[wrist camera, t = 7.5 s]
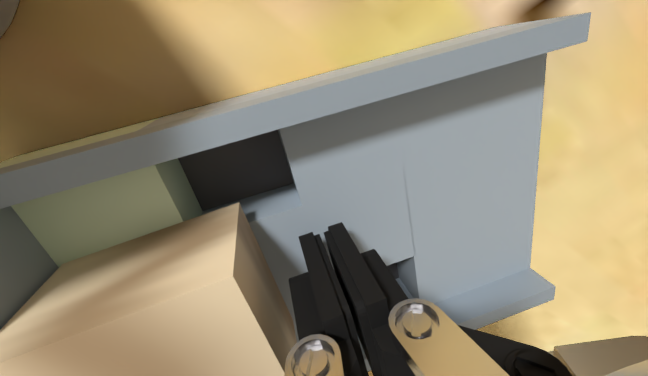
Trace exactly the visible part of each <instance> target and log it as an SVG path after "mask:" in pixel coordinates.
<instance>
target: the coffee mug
mask: <svg viewBox="0 0 648 376" xmlns="http://www.w3.org/2000/svg"><path fill="white" fill-rule="evenodd" d="M19 1H20V0H0V38H1V37H2V35H3V34H4V33H5V31H6V30H7V28H8V27H9V26H10V24H11V22H12V19H13V17H14V15H15V12H16V10H17V7H18V4H19Z"/></svg>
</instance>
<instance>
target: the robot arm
mask: <svg viewBox="0 0 648 376" xmlns="http://www.w3.org/2000/svg"><path fill="white" fill-rule="evenodd" d="M328 230H329V231H326V232H324V236H325V240H326V243H327V247H328V250H329V254H330V257H331V261H332V264H333V266H332V264H331V261H330V259H329V256H328V254H327V251H326V249H325V246H324V244H323V241H322V239H321V237H320V234H317V235H314V234H313V232H310V233H307V234H304V235H301V236H298V237H299V241H300V244H301V248H302V251H303V255H304V259H305V262H306V266H307V270H308V272H306V273H303V274H300V275H297V276H294V277H292V278H289V286H290V292H291V298H292V304H293V309H294V315H295V321H296V327H297V333H298V338H299V341H298V342H297V343H296V344H295V345H294V346H293V347H292V349H291V350H290V352H289V354H288V356H287V358H286V363H285V376H369V375H368V372H367V368H366V364H365V361H364V357H363V354H362V350H361V346H360V343H359V340H360V342H361V345H362V348H363V350H364V353H365V355H366V358H367V360H368V363H369V365H370V368H371V370H372V373H373V375H374V376H648V337H646V336H628V337H621V338H614V339H606V340H599V341H591V342H584V343H577V344H569V345H562V346H555V347H554V351H550V352H547V351H544V350H542V349H539V348H537V347H534V346H530V345H527V344H523V343H520V342H516V341H513V340H509V339H506V338H502V337H499V336H495V335H491V334H488V333H484V332H481V331H477V330H474V329H470V328H467V327H463V326H460V325H457V324H456V323H454V322H453V321H452V320H451V319H450V318H449V317H448V316H447V315H446V314H445V313H444V312H443V311H442V310H441V309H440V308H439V307H438V306H436V305H435V304H434V303H432V302H430V301H427V300H425V299H418V298H413V299H408V297H407V296H406V294H405V293H404V291H403V290H402V288H401V287H400V285H399V284H398V282H397V281H396V279H395V278H394V276H393V275H392V273H391V272H390V270H389V269H388V267H387V266H386V264H385V263H384V262H383V260H382V259H381V257H380V256H379V254H378V253H377V251H376V250H375V249H372V250H369V251H366V252H363V253H360V252H359V250H358V249H357V247H356V245H355V243H354V242H353V240H352V238H351V237H350V235H349V233H348V231H347V230H346V228H345V226H344V224H343V223H342V222H340V223H337V224H334V225H331V226H328ZM333 267H334V269H333ZM357 335H358V336H357ZM358 337H359V339H358Z"/></svg>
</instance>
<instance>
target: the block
mask: <svg viewBox="0 0 648 376" xmlns="http://www.w3.org/2000/svg"><path fill="white" fill-rule="evenodd" d="M296 343H297V341H296V335H295V329H294V323H293V319H292V317H291V314H290V312H289V310H288V308H287V306H286V304H285V301H284V299H283V297H282V295H281V293H280V290H279V288H278V286H277V284H276V282H275V279H274V277H273V275H272V273H271V271H270V268H269V266H268V264H267V262H266V260H265V258H264V255H263V253H262V251H261V249H260V247H259V244H258V242H257V240H256V238H255V236H254V233H253V231H252V229H251V227H250V225H249V222H248V220H247V218H246V216H245V214H244V211H243V209H242V207H241V205H240V203H239V202H238V203H235V204H232V205H230V206H227V207H224V208H221V209H218V210H215V211H212V212H210V213H207V214H204V215H201V216H198V217H195V218H192V219H190V220H187V221H184V222H181V223H178V224H175V225H172V226H170V227H167V228H164V229H161V230H158V231H155V232H152V233H149V234H147V235H144V236H141V237H138V238H135V239H132V240H129V241H127V242H124V243H121V244H118V245H115V246H112V247H109V248H107V249H104V250H101V251H98V252H95V253H92V254H89V255H87V256H84V257H81V258H78V259H75V260H72V261H69V262H67V263H64V264H62V265H61V266H60V267H59V268H58V269H57V270H56V271H55V272H54V273H53V274H52V276H51V277H50V278H49V279H48V280H47V281H46V282H45V283H44V284H43V285H42V286H41V287H40V288H39V289H38V290H37V291H36V292H35V294H34V295H33V296H32V297H31V298H30V299H29V300H28V301H27V302H26V303H25V304H24V305H23V306H22V307H21V308H20V309H19V310H18V312H17V313H16V314H15V315H14V316H13V317H12V318H11V319H10V320H9V321H8V322H7V323H6V324H5V325H4V326H3V327H2V329H1V330H0V376H285V363H286V358H287V356H288V354H289V352H290V350H291V349H292V347H293V346H294V345H295V344H296Z"/></svg>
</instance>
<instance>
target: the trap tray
mask: <svg viewBox="0 0 648 376" xmlns="http://www.w3.org/2000/svg"><path fill="white" fill-rule="evenodd" d="M590 16H591V13H584V14H577V15H571V16H564V17H558V18H551V19H545V20H538V21H531V22H525V23H518V24H512V25H505V26H499V27H494V28H490V29H486V30H483V31H479V32H475V33H472V34H468V35H464V36H460V37H457V38H453V39H449V40H446V41H442V42H438V43H434V44H431V45H427V46H423V47H420V48H416V49H412V50H409V51H405V52H401V53H397V54H394V55H390V56H386V57H383V58H379V59H375V60H371V61H368V62H364V63H360V64H357V65H353V66H349V67H345V68H342V69H338V70H334V71H331V72H327V73H323V74H319V75H316V76H312V77H308V78H305V79H301V80H297V81H293V82H290V83H286V84H282V85H279V86H275V87H271V88H268V89H264V90H260V91H256V92H253V93H249V94H245V95H242V96H238V97H234V98H230V99H227V100H223V101H219V102H216V103H212V104H208V105H204V106H201V107H197V108H193V109H190V110H186V111H182V112H178V113H175V114H171V115H167V116H164V117H160V118H156V119H152V120H149V121H145V122H141V123H138V124H134V125H130V126H127V127H123V128H119V129H115V130H112V131H108V132H104V133H101V134H97V135H93V136H89V137H86V138H82V139H78V140H75V141H71V142H67V143H63V144H60V145H56V146H52V147H49V148H45V149H41V150H37V151H34V152H30V153H26V154H23V155H19V156H16V157H13V158H11V159H8V160H6V161H3V162H1V163H0V330H1V329H2V327H3V326H4V325H5V324H6V323H7V322H8V321H9V320H10V319H11V318H12V317H13V316H14V315H15V314H16V313H17V312H18V310H19V309H20V308H21V307H22V306H23V305H24V304H25V303H26V302H27V301H28V300H29V299H30V298H31V297H32V296H33V295H34V294H35V292H36V291H37V290H38V289H39V288H40V287H41V286H42V285H43V284H44V283H45V282H46V281H47V280H48V279H49V278H50V277H51V276H52V274H53V273H54V272H55V271H56V270H57V269H58V268H59V267H60V266H61V265H62V264H64V263H67V262H69V261H72V260H75V259H78V258H81V257H84V256H87V255H89V254H92V253H95V252H98V251H101V250H104V249H107V248H109V247H112V246H115V245H118V244H121V243H124V242H127V241H129V240H132V239H135V238H138V237H141V236H144V235H147V234H149V233H152V232H155V231H158V230H161V229H164V228H167V227H170V226H172V225H175V224H178V223H181V222H184V221H187V220H190V219H192V218H195V217H198V216H201V215H204V214H207V213H210V212H212V211H215V210H218V209H221V208H224V207H227V206H230V205H232V204H235V203H238V202H239V203H240V205H241V207H242V209H243V211H244V214H245V216H246V218H247V220H248V222H249V225H250V227H251V229H252V231H253V233H254V236H255V238H256V240H257V242H258V244H259V247H260V249H261V251H262V253H263V255H264V258H265V260H266V262H267V264H268V266H269V268H270V271H271V273H272V275H273V277H274V279H275V282H276V284H277V286H278V288H279V290H280V293H281V295H282V297H283V299H284V301H285V304H286V306H287V308H288V310H289V312H290V314H291V317H292V319H293V323H294V329H295V335H296V341H297V342H298V341H299V338H298V333H297V327H296V321H295V315H294V309H293V304H292V298H291V292H290V286H289V278H292V277H294V276H297V275H300V274H303V273H306V272H308V270H307V266H306V262H305V259H304V255H303V251H302V248H301V244H300V241H299V237H298V236H301V235H304V234H307V233H310V232H313V234H314V235H317V234H320V237H321V239H322V241H323V244H324V246H325V249H326V251H327V254H328V256H329V259H330V261H331V257H330V254H329V250H328V247H327V243H326V240H325V236H324V232H326V231H329V230H328V226H331V225H334V224H337V223H340V222H342V223H343V224H344V226H345V228H346V230H347V231H348V233H349V235H350V237H351V238H352V240H353V242H354V243H355V245H356V247H357V249H358V250H359V252H360V253H363V252H366V251H369V250H372V249H375V250H376V251H377V253H378V254H379V256H380V257H381V259H382V260H383V262H384V263H385V264H386V266H387V267H388V269H389V270H390V272H391V273H392V275H393V276H394V278H395V279H396V281H397V282H398V284H399V285H400V287H401V288H402V290H403V291H404V293H405V294H406V296H407V297H408V299H413V298H418V299H425V300H427V301H430V302H432V303H434V304H435V305H436V306H438V307H439V308H440V309H441V310H442V311H443V312H444V313H445V314H446V315H447V316H448V317H449V318H450V319H451V320H452V321H453V322H454V323H456V324H457V325H460V326H463V327H467V328H470V329H474V330H476V329H479V328H481V327H484V326H486V325H489V324H491V323H494V322H497V321H499V320H502V319H504V318H507V317H509V316H512V315H515V314H517V313H520V312H522V311H525V310H527V309H530V308H533V307H535V306H538V305H540V304H543V303H545V302H548V301H551V300H553V299H554V295H555V286H554V285H553V284H551V283H550V282H549V281H547V280H546V279H544V278H543V277H542V276H540V275H539V274H538V273H536V272H535V271H534V270H532V269H531V268H530V261H531V248H532V235H533V223H534V210H535V197H536V184H537V172H538V159H539V146H540V133H541V121H542V108H543V95H544V82H545V70H546V57H547V52H551V51H554V50H558V49H561V48H565V47H568V46H572V45H575V44H579V43H582V42H586V41H587V39H588V32H589V24H590ZM331 264H332V261H331ZM332 266H333V264H332ZM333 269H334V267H333ZM357 336H358V335H357ZM358 339H359V337H358ZM359 343H360V346H361V350H362V354H363V357H364V361H365V364H366V368H367V372H368V371H371V368H370V365H369V363H368V360H367V358H366V355H365V353H364V350H363V348H362V345H361V342H360V340H359Z"/></svg>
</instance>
